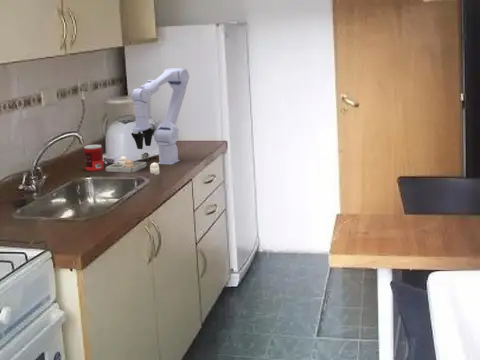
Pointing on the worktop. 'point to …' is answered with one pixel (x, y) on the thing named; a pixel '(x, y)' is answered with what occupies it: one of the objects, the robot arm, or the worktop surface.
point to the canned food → (93, 157)
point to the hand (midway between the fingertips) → (144, 147)
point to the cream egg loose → (154, 168)
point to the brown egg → (129, 164)
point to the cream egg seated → (122, 160)
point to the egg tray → (121, 168)
